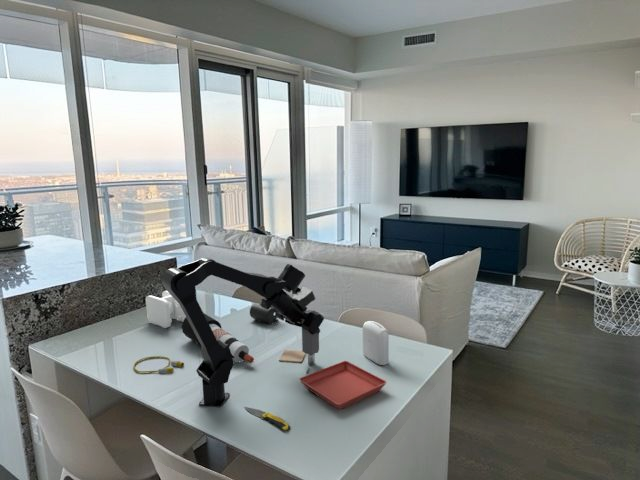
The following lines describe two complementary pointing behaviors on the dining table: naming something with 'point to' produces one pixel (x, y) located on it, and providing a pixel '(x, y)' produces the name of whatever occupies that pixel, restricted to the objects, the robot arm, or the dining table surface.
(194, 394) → the dining table surface
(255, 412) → the utility knife
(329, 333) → the dining table surface
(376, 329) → the photo printer
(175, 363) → the extension cord
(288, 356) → the tan pad
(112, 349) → the dining table surface
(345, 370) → the plant saucer
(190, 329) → the cable
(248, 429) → the dining table surface
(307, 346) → the octagonal tapered tumbler
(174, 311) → the cable organizer
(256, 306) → the end cap
